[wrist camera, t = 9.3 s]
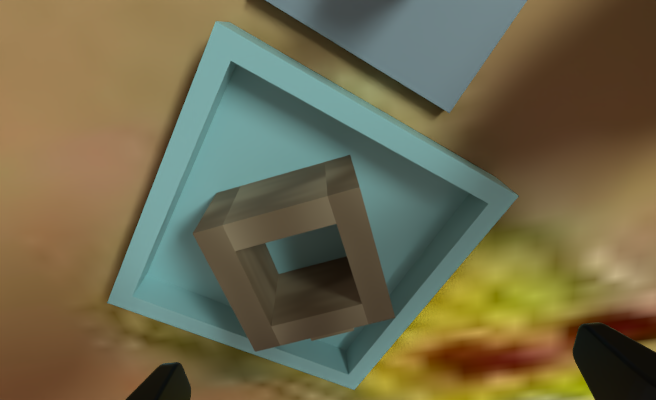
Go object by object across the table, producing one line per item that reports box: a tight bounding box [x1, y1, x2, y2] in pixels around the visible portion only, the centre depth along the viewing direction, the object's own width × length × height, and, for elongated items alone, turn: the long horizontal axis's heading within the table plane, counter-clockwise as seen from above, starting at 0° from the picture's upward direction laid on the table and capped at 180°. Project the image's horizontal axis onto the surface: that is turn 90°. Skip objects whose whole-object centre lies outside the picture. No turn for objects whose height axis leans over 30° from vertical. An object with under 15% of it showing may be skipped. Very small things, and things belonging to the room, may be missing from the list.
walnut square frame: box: [193, 155, 395, 352], centre depth 18 cm, size 7×9×4 cm
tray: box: [107, 21, 518, 390], centre depth 19 cm, size 15×15×2 cm
